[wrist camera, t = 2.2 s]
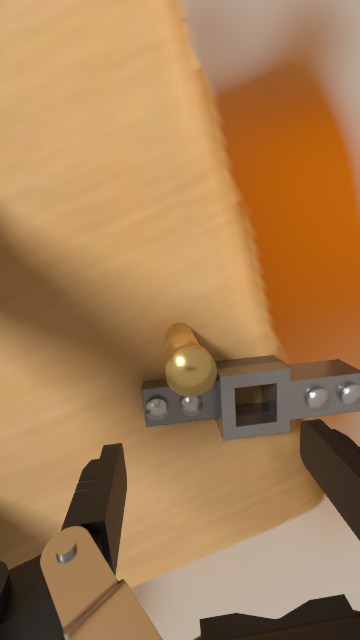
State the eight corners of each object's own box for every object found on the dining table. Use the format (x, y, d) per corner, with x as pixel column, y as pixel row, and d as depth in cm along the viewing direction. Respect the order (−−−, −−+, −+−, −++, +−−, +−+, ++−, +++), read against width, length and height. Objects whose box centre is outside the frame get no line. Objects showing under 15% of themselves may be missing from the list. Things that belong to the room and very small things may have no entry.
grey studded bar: (141, 370, 30) (138, 389, 25) (339, 347, 31) (369, 362, 27) (148, 427, 31) (146, 455, 27) (336, 403, 33) (365, 425, 28)
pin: (160, 321, 29) (163, 351, 19) (195, 317, 29) (215, 345, 19) (163, 354, 29) (168, 399, 20) (197, 351, 30) (218, 393, 20)
